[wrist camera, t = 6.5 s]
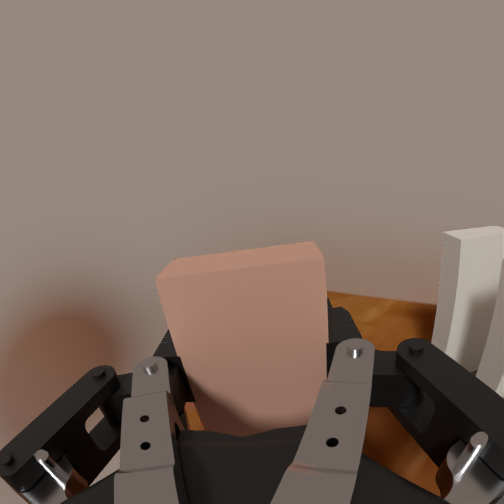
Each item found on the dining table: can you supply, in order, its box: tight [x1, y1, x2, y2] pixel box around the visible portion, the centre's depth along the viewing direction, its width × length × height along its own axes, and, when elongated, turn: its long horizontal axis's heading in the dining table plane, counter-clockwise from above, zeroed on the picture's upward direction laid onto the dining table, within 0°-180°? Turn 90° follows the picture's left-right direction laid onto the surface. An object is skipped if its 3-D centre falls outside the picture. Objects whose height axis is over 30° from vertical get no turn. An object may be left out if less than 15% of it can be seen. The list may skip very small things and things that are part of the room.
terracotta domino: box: [155, 241, 329, 437], centre depth 11 cm, size 2×5×10 cm, turn 87°
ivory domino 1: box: [431, 226, 504, 372], centre depth 15 cm, size 2×5×10 cm, turn 87°
